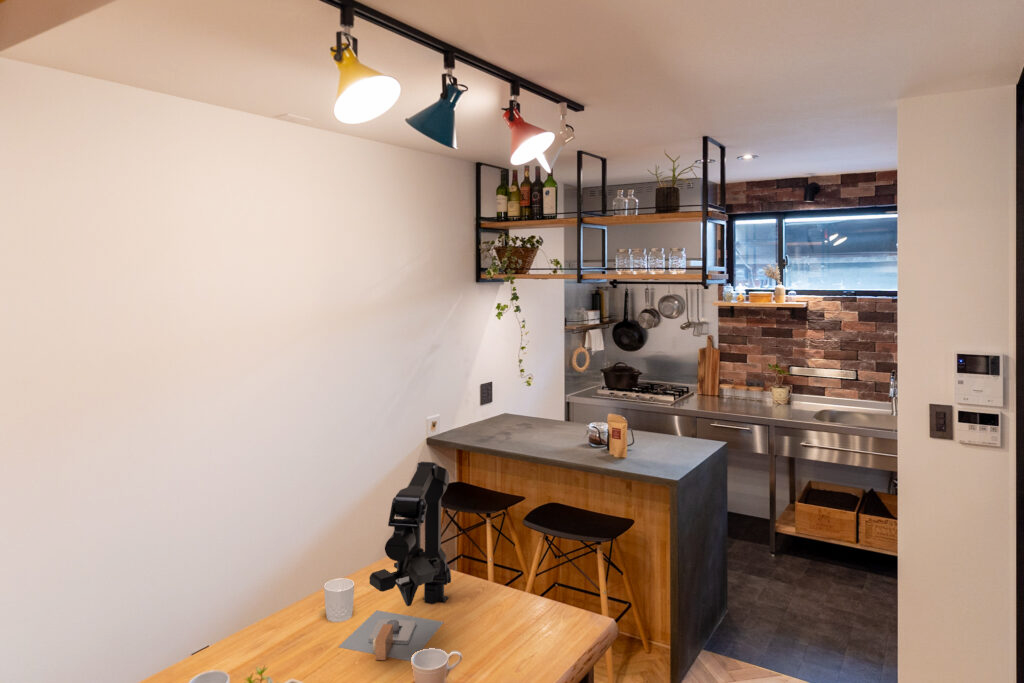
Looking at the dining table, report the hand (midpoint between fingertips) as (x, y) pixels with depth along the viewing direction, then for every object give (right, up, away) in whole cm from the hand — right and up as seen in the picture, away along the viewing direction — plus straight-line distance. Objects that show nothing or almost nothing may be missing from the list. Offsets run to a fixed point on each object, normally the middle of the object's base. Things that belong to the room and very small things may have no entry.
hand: (408, 605), depth 168 cm
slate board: (-5, -12, +8) cm, 15 cm away
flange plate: (-5, -10, +4) cm, 12 cm away
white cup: (-21, -11, +17) cm, 29 cm away
